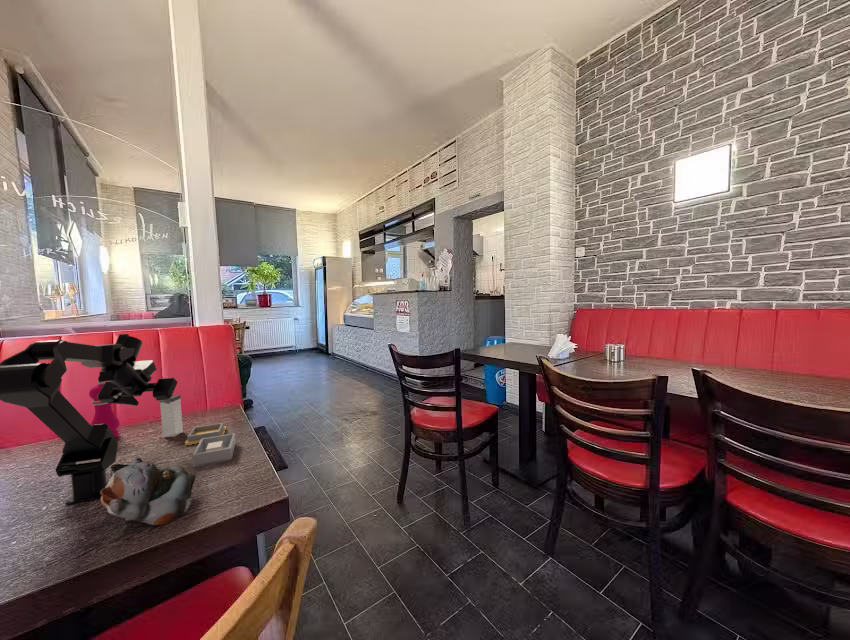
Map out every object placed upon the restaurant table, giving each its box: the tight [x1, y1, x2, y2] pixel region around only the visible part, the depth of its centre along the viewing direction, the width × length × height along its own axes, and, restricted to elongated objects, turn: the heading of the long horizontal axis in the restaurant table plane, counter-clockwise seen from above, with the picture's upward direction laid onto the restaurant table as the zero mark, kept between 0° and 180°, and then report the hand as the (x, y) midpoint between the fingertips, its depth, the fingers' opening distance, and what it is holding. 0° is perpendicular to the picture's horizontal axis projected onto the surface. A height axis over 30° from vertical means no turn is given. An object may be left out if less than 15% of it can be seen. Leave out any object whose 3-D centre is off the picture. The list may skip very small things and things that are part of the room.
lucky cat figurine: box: [100, 457, 196, 527], centre depth 70 cm, size 15×12×14 cm
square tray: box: [184, 422, 227, 447], centre depth 111 cm, size 10×10×3 cm
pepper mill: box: [88, 380, 121, 439], centre depth 112 cm, size 7×7×20 cm
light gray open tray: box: [192, 432, 237, 468], centre depth 98 cm, size 12×9×4 cm
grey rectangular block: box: [159, 394, 184, 438], centre depth 114 cm, size 4×4×13 cm
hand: (153, 403), depth 105 cm, fingers open, 9 cm apart
